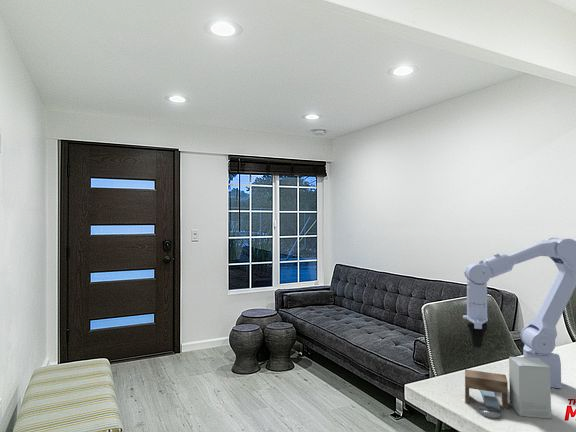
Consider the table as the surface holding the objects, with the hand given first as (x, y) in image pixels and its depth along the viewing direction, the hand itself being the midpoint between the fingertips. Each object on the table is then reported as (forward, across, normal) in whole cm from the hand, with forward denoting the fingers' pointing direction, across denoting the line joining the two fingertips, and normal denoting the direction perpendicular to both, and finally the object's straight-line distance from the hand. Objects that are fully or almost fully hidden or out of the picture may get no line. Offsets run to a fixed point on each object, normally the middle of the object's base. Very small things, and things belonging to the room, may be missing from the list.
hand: (477, 346), depth 125 cm
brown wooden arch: (+10, +18, +1) cm, 20 cm away
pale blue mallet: (+10, +15, +2) cm, 18 cm away
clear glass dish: (+10, +25, +2) cm, 27 cm away
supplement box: (+10, +19, +11) cm, 24 cm away
